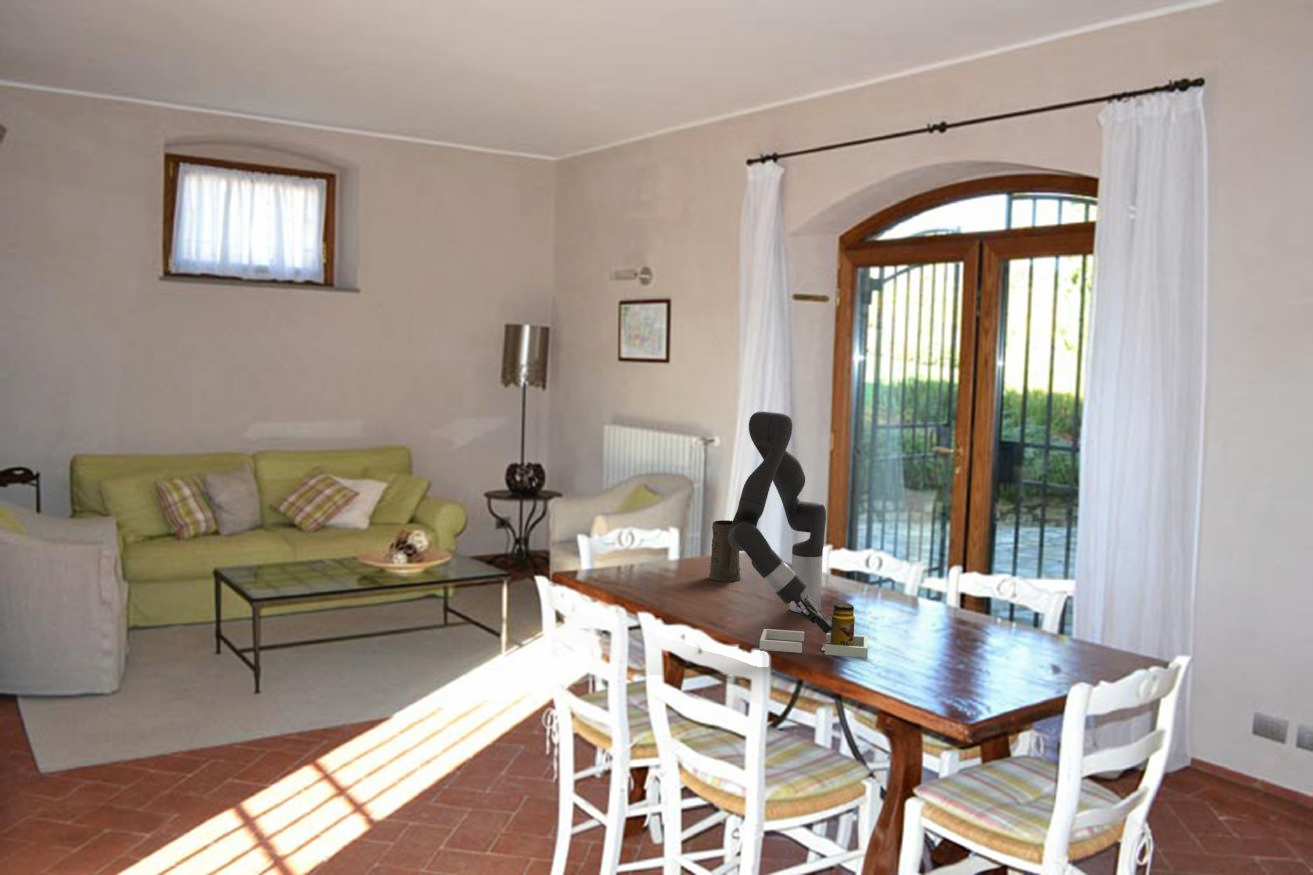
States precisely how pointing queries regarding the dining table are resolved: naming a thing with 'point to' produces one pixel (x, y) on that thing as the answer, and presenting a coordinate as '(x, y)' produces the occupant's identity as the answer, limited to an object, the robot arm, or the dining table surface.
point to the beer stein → (723, 554)
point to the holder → (782, 645)
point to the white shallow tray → (848, 647)
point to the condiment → (842, 625)
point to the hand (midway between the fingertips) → (829, 630)
